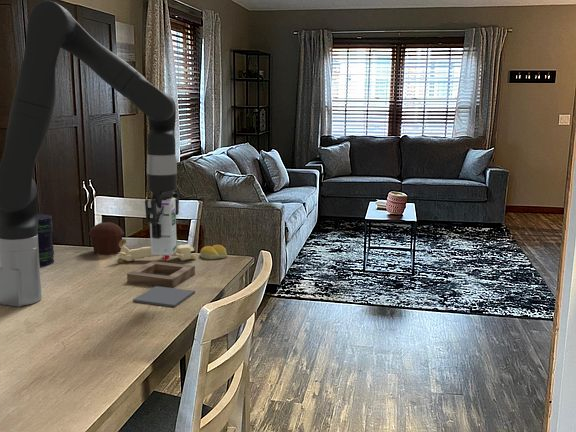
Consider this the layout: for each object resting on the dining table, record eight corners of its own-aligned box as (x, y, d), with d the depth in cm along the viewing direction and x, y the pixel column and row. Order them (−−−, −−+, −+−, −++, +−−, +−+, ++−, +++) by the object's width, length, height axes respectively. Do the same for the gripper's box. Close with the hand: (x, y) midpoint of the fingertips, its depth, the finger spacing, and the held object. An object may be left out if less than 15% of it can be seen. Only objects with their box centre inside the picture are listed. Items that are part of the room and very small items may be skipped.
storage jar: (20, 260, 186) (17, 214, 183) (53, 257, 190) (51, 213, 187) (21, 268, 177) (17, 221, 174) (55, 265, 181) (52, 218, 178)
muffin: (131, 249, 203) (130, 221, 201) (113, 257, 192) (112, 227, 190) (101, 246, 206) (100, 218, 204) (82, 253, 195) (81, 225, 193)
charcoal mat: (174, 307, 148) (174, 305, 147) (133, 301, 151) (133, 299, 151) (195, 292, 159) (195, 290, 159) (156, 287, 162) (155, 285, 162)
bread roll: (197, 255, 198) (197, 243, 198) (222, 252, 202) (222, 241, 201) (204, 261, 191) (204, 249, 190) (229, 258, 195) (230, 247, 194)
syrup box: (172, 255, 150) (171, 200, 147) (150, 255, 150) (148, 199, 147) (177, 250, 155) (176, 196, 152) (155, 249, 155) (154, 196, 152)
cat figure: (119, 269, 183) (198, 261, 188) (115, 243, 182) (195, 235, 186) (121, 261, 193) (196, 253, 197) (118, 236, 191) (194, 228, 196)
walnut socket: (172, 287, 163) (172, 279, 162) (127, 282, 167) (127, 273, 166) (195, 273, 176) (195, 265, 176) (152, 268, 180) (152, 261, 180)
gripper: (161, 176, 140) (163, 242, 144) (187, 169, 154) (188, 230, 157) (134, 174, 142) (136, 240, 146) (162, 168, 156) (163, 228, 159)
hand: (163, 234), depth 151 cm, fingers closed on syrup box, 6 cm apart
